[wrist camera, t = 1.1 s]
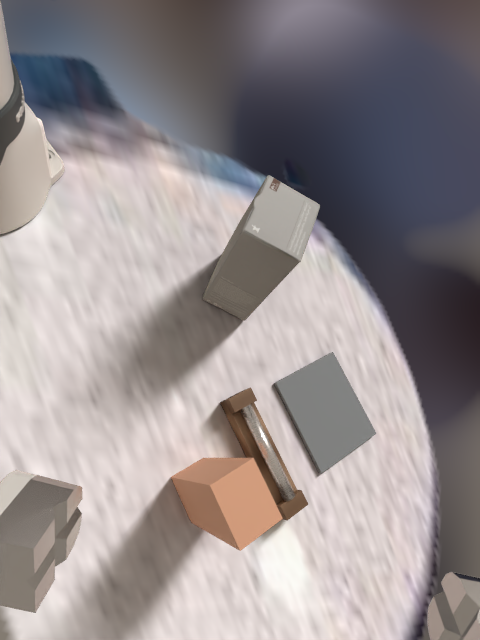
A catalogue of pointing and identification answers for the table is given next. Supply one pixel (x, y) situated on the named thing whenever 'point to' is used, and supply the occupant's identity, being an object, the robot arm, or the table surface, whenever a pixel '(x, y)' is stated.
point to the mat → (325, 411)
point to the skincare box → (262, 248)
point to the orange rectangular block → (227, 499)
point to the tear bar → (263, 452)
